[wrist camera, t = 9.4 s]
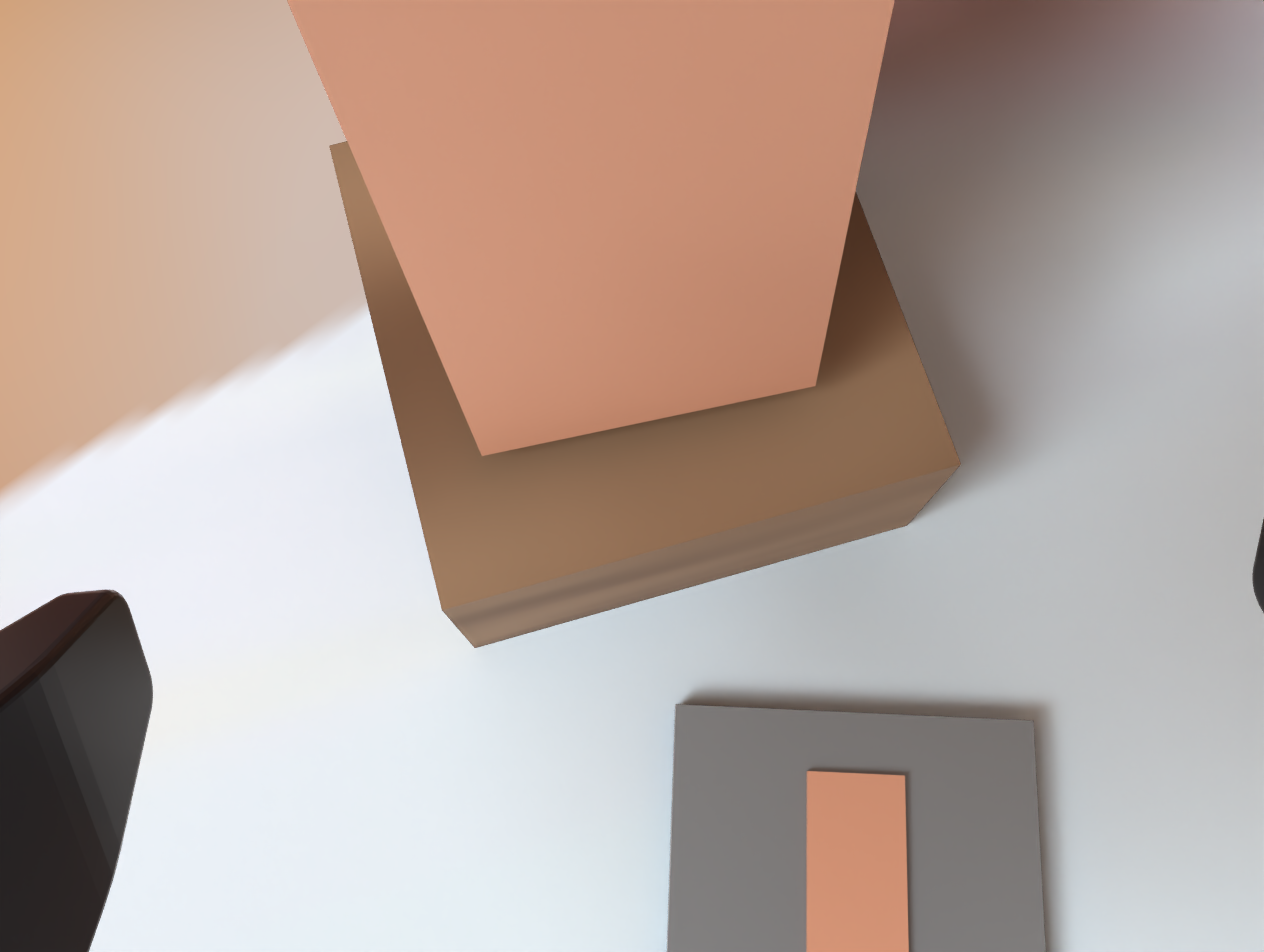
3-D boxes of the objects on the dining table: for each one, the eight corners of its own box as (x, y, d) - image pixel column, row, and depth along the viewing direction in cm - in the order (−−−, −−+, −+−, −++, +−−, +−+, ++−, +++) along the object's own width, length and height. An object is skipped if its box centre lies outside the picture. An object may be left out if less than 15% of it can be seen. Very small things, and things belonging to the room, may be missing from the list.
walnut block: (903, 529, 22) (961, 464, 18) (477, 650, 21) (442, 609, 17) (767, 160, 24) (793, 30, 20) (379, 259, 23) (329, 145, 19)
